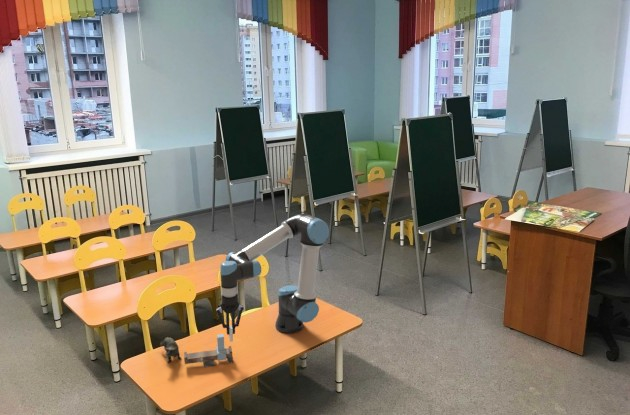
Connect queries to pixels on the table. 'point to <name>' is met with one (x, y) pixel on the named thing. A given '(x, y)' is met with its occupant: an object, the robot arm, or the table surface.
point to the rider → (220, 347)
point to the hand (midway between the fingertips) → (231, 339)
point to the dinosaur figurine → (170, 349)
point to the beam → (207, 357)
